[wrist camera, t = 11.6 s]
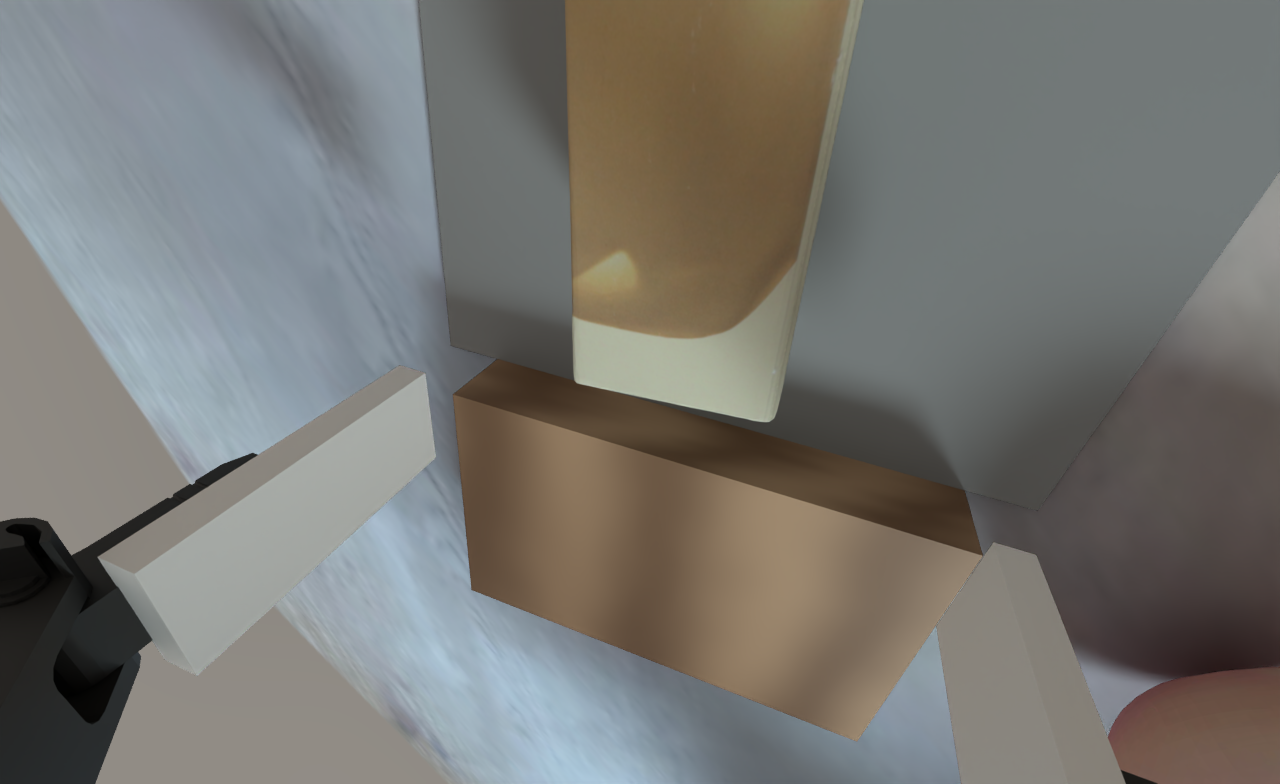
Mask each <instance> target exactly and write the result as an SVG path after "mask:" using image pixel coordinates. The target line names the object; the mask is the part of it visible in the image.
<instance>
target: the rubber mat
mask: <svg viewBox="0 0 1280 784" xmlns="http://www.w3.org/2000/svg"><path fill="white" fill-rule="evenodd" d="M419 9H420V20H421V31H422V42H423V52H424V63H425V74H426V85H427V95H428V106H429V117H430V128H431V138H432V149H433V160H434V171H435V182H436V192H437V203H438V214H439V225H440V235H441V246H442V257H443V268H444V278H445V289H446V300H447V311H448V321H449V332H450V343H451V346H453V347H457V348H461V349H464V350H468V351H471V352H475V353H478V354H482V355H485V356H489V357H493V358H496V359H500V360H503V361H507V362H510V363H514V364H517V365H521V366H524V367H528V368H532V369H535V370H539V371H542V372H546V373H549V374H553V375H556V376H560V377H564V378H567V379H571V380H574V373H573V339H572V277H571V223H570V188H569V147H568V109H567V72H566V22H565V0H419ZM1279 172H1280V0H864V3H863V8H862V13H861V17H860V22H859V27H858V32H857V36H856V41H855V46H854V51H853V55H852V60H851V65H850V70H849V74H848V79H847V84H846V89H845V94H844V98H843V103H842V108H841V113H840V117H839V122H838V127H837V132H836V137H835V141H834V146H833V151H832V156H831V160H830V165H829V170H828V175H827V180H826V185H825V189H824V194H823V199H822V204H821V209H820V214H819V218H818V223H817V228H816V233H815V238H814V242H813V247H812V251H811V256H810V261H809V265H808V270H807V274H806V279H805V283H804V288H803V293H802V298H801V302H800V307H799V312H798V317H797V322H796V326H795V331H794V336H793V340H792V345H791V350H790V355H789V360H788V364H787V370H786V375H785V380H784V384H783V389H782V393H781V397H780V401H779V405H778V409H777V412H776V415H775V418H774V419H773V420H771V421H770V422H759V421H752V420H749V419H745V418H739V417H734V416H729V415H725V414H720V413H716V412H711V411H706V410H701V409H696V408H690V407H685V406H681V405H676V404H672V403H667V402H662V401H657V400H653V399H648V398H643V397H639V396H634V395H629V394H624V393H620V392H617V393H620V394H624V395H627V396H631V397H635V398H638V399H642V400H645V401H649V402H652V403H656V404H659V405H663V406H667V407H670V408H674V409H677V410H681V411H684V412H688V413H691V414H695V415H698V416H702V417H706V418H709V419H713V420H716V421H720V422H723V423H727V424H730V425H734V426H738V427H741V428H745V429H748V430H752V431H755V432H759V433H762V434H766V435H769V436H773V437H777V438H780V439H784V440H787V441H791V442H794V443H798V444H801V445H805V446H809V447H812V448H816V449H819V450H823V451H826V452H830V453H833V454H837V455H841V456H844V457H848V458H851V459H855V460H858V461H862V462H865V463H869V464H872V465H876V466H880V467H883V468H887V469H890V470H894V471H897V472H901V473H904V474H908V475H912V476H915V477H919V478H922V479H926V480H929V481H933V482H936V483H940V484H943V485H947V486H951V487H954V488H958V489H961V490H965V491H968V492H972V493H975V494H979V495H983V496H986V497H990V498H993V499H997V500H1000V501H1004V502H1007V503H1011V504H1014V505H1018V506H1022V507H1025V508H1029V509H1032V510H1036V511H1038V510H1039V509H1040V507H1041V506H1042V504H1043V503H1044V502H1045V500H1046V499H1047V497H1048V496H1049V495H1050V493H1051V492H1052V490H1053V489H1054V488H1055V486H1056V485H1057V483H1058V482H1059V480H1060V479H1061V478H1062V476H1063V475H1064V473H1065V472H1066V471H1067V469H1068V468H1069V466H1070V465H1071V464H1072V462H1073V461H1074V459H1075V458H1076V457H1077V455H1078V454H1079V452H1080V451H1081V450H1082V448H1083V447H1084V445H1085V444H1086V443H1087V441H1088V440H1089V438H1090V437H1091V436H1092V434H1093V433H1094V431H1095V430H1096V429H1097V427H1098V426H1099V424H1100V423H1101V422H1102V420H1103V419H1104V417H1105V416H1106V415H1107V413H1108V412H1109V410H1110V409H1111V407H1112V406H1113V405H1114V403H1115V402H1116V400H1117V399H1118V398H1119V396H1120V395H1121V393H1122V392H1123V391H1124V389H1125V388H1126V386H1127V385H1128V384H1129V382H1130V381H1131V379H1132V378H1133V377H1134V375H1135V374H1136V372H1137V371H1138V370H1139V368H1140V367H1141V365H1142V364H1143V363H1144V361H1145V360H1146V358H1147V357H1148V356H1149V354H1150V353H1151V351H1152V350H1153V349H1154V347H1155V346H1156V344H1157V343H1158V342H1159V340H1160V339H1161V337H1162V336H1163V335H1164V333H1165V332H1166V330H1167V329H1168V327H1169V326H1170V325H1171V323H1172V322H1173V320H1174V319H1175V318H1176V316H1177V315H1178V313H1179V312H1180V311H1181V309H1182V308H1183V306H1184V305H1185V304H1186V302H1187V301H1188V299H1189V298H1190V297H1191V295H1192V294H1193V292H1194V291H1195V290H1196V288H1197V287H1198V285H1199V284H1200V283H1201V281H1202V280H1203V278H1204V277H1205V276H1206V274H1207V273H1208V271H1209V270H1210V269H1211V267H1212V266H1213V264H1214V263H1215V262H1216V260H1217V259H1218V257H1219V256H1220V255H1221V253H1222V252H1223V250H1224V249H1225V247H1226V246H1227V245H1228V243H1229V242H1230V240H1231V239H1232V238H1233V236H1234V235H1235V233H1236V232H1237V231H1238V229H1239V228H1240V226H1241V225H1242V224H1243V222H1244V221H1245V219H1246V218H1247V217H1248V215H1249V214H1250V212H1251V211H1252V210H1253V208H1254V207H1255V205H1256V204H1257V203H1258V201H1259V200H1260V198H1261V197H1262V196H1263V194H1264V193H1265V191H1266V190H1267V189H1268V187H1269V186H1270V184H1271V183H1272V182H1273V180H1274V179H1275V177H1276V176H1277V174H1278V173H1279ZM574 381H575V380H574ZM613 392H615V391H613Z"/></svg>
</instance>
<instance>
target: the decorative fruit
mask: <svg viewBox="0 0 1280 784" xmlns="http://www.w3.org/2000/svg"><path fill="white" fill-rule="evenodd" d="M1108 739H1109V742H1110V745H1111V747H1112V750H1113V752H1114V755H1115V757H1116V760H1117V762H1118V765H1119V768H1120V770H1123V771H1125V772H1128V773H1131V774H1134V775H1136V776H1139V777H1142V778H1144V779H1147V780H1150V781H1153V782H1155V783H1158V784H1280V667H1263V668H1252V669H1240V670H1228V671H1219V672H1213V673H1207V674H1201V675H1196V676H1189V677H1183V678H1178V679H1175V680H1171V681H1168V682H1164V683H1161V684H1159V685H1157V686H1155V687H1153V688H1151V689H1149V690H1147V691H1146V692H1144V693H1143V694H1141V695H1139V696H1138V697H1136V698H1135V699H1134V700H1133V701H1132V702H1131V703H1130V704H1128V705H1127V706H1126V707H1125V708H1124V709H1123V710H1122V711H1121V713H1120V714H1119V716H1118V717H1117V719H1116V720H1115V722H1114V724H1113V726H1112V728H1111V730H1110V733H1109V735H1108Z"/></svg>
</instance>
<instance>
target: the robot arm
mask: <svg viewBox="0 0 1280 784" xmlns="http://www.w3.org/2000/svg"><path fill="white" fill-rule="evenodd" d="M435 458H436V453H435V445H434V438H433V430H432V422H431V414H430V406H429V398H428V390H427V382H426V374H425V373H424V372H421V371H417V370H414V369H411V368H407V367H404V366H401V365H399V366H398V367H396V368H394V369H393V370H391V371H390V372H388V373H387V374H385V375H383V376H382V377H380V378H379V379H377V380H376V381H374V382H372V383H371V384H369V385H368V386H366V387H365V388H363V389H361V390H360V391H358V392H357V393H355V394H353V395H352V396H350V397H349V398H347V399H346V400H344V401H342V402H341V403H339V404H338V405H336V406H335V407H333V408H331V409H330V410H328V411H327V412H325V413H324V414H322V415H320V416H319V417H317V418H316V419H314V420H313V421H311V422H309V423H308V424H306V425H305V426H303V427H301V428H300V429H298V430H297V431H295V432H294V433H292V434H290V435H289V436H287V437H286V438H284V439H283V440H281V441H279V442H278V443H276V444H275V445H273V446H272V447H270V448H268V449H267V450H265V451H264V452H262V453H261V454H259V455H257V454H254V453H251V454H248V455H246V456H243V457H240V458H238V459H235V460H232V461H230V462H227V463H224V464H222V465H220V466H219V467H217V468H215V469H214V470H212V471H210V472H209V473H207V474H205V475H204V476H202V477H201V478H199V479H197V480H196V481H195V483H194V484H193V485H191V484H189V485H188V486H186V487H185V488H183V489H181V490H180V491H178V492H176V493H175V494H173V497H172V498H166V499H165V500H163V501H161V502H160V503H158V504H157V505H155V506H153V507H152V508H150V509H149V510H147V511H145V512H143V513H142V514H140V515H139V516H137V517H135V518H134V519H132V520H130V521H129V522H128V523H126V524H124V525H122V526H121V527H119V528H117V529H116V530H114V531H113V532H111V533H109V534H108V535H106V536H104V537H103V538H101V539H100V540H98V541H96V542H95V543H93V544H91V545H90V546H88V547H86V548H85V549H83V550H81V551H79V552H77V553H75V554H73V555H72V556H71V554H70V553H69V552H68V550H67V549H66V547H65V546H64V544H63V543H62V542H61V540H60V539H59V537H58V536H57V534H56V533H55V532H54V530H53V529H52V527H51V526H50V524H49V523H48V522H47V521H44V520H40V519H37V518H16V519H10V520H6V521H2V522H0V784H95V783H96V780H97V777H98V775H99V772H100V770H101V767H102V764H103V762H104V759H105V756H106V754H107V751H108V748H109V746H110V743H111V741H112V738H113V735H114V733H115V730H116V728H117V725H118V723H119V720H120V717H121V715H122V712H123V709H124V707H125V704H126V702H127V699H128V696H129V694H130V691H131V689H132V686H133V684H134V681H135V678H136V676H137V673H138V671H139V668H140V660H141V656H140V654H139V653H138V651H139V650H141V649H142V648H143V647H144V646H145V645H147V644H148V643H149V642H151V641H153V643H154V644H155V646H156V647H157V649H158V650H159V652H160V653H161V655H162V656H163V658H164V660H166V661H168V662H170V663H172V664H174V665H176V666H178V667H180V668H182V669H184V670H186V671H188V672H190V673H192V674H194V675H196V676H198V675H199V674H200V673H201V672H202V671H203V670H204V669H205V668H206V667H207V666H208V665H209V664H211V663H212V662H213V661H214V660H215V659H216V658H217V657H218V656H219V655H220V654H222V653H223V652H224V651H225V650H226V649H227V648H228V647H229V646H230V645H231V644H233V643H234V642H235V641H236V640H237V639H238V638H239V637H240V636H241V635H242V634H244V632H246V631H247V630H248V629H249V628H250V627H251V626H252V625H253V624H254V623H256V622H257V621H258V620H259V619H260V618H261V617H262V616H263V615H264V614H265V613H267V612H268V611H269V610H270V609H271V608H272V607H273V606H274V605H275V604H276V603H277V602H279V601H280V600H281V599H282V598H283V597H284V596H285V595H286V594H287V593H288V592H289V591H291V590H292V589H293V588H294V587H295V586H296V585H297V584H298V583H299V582H300V581H302V580H303V579H304V578H305V577H306V576H307V575H308V574H309V573H310V572H311V571H312V570H314V569H315V568H316V567H317V566H318V565H319V564H320V563H321V562H322V561H323V560H325V559H326V558H327V557H328V556H329V555H330V554H331V553H332V552H333V551H334V550H335V549H337V548H338V547H339V546H340V545H341V544H342V543H343V542H344V541H345V540H346V539H347V538H349V537H350V536H351V535H352V534H353V533H354V532H355V531H356V530H357V529H358V528H360V527H361V526H362V525H363V524H364V523H365V522H366V521H367V520H368V519H369V518H370V517H372V516H373V515H374V514H375V513H376V512H377V511H378V510H379V509H380V508H381V507H383V506H384V505H385V504H386V503H387V502H388V501H389V500H390V499H391V498H392V497H393V496H395V495H396V494H397V493H398V492H399V491H400V490H401V489H402V488H403V487H404V486H406V485H407V484H408V483H409V482H410V481H411V480H412V479H413V478H414V477H415V476H416V475H418V474H419V473H420V472H421V471H422V470H423V469H424V468H425V467H426V466H427V465H428V464H430V463H431V462H432V461H433V460H434V459H435ZM936 628H937V634H938V641H939V647H940V653H941V660H942V666H943V672H944V679H945V685H946V691H947V698H948V704H949V710H950V717H951V723H952V729H953V736H954V742H955V749H956V755H957V761H958V768H959V774H960V780H961V784H1158V783H1155V782H1153V781H1150V780H1147V779H1144V778H1142V777H1139V776H1136V775H1134V774H1131V773H1128V772H1125V771H1123V770H1120V768H1119V765H1118V762H1117V760H1116V757H1115V755H1114V752H1113V750H1112V747H1111V745H1110V742H1109V739H1108V737H1107V734H1106V732H1105V729H1104V727H1103V724H1102V722H1101V719H1100V716H1099V714H1098V711H1097V709H1096V706H1095V704H1094V701H1093V699H1092V696H1091V693H1090V691H1089V688H1088V686H1087V683H1086V681H1085V678H1084V676H1083V673H1082V670H1081V668H1080V665H1079V663H1078V660H1077V658H1076V655H1075V653H1074V650H1073V647H1072V645H1071V642H1070V640H1069V637H1068V635H1067V632H1066V630H1065V627H1064V625H1063V622H1062V619H1061V617H1060V614H1059V612H1058V609H1057V607H1056V604H1055V602H1054V599H1053V596H1052V594H1051V591H1050V589H1049V586H1048V584H1047V581H1046V579H1045V576H1044V573H1043V571H1042V568H1041V566H1040V563H1039V561H1038V558H1037V556H1036V555H1035V554H1031V553H1028V552H1025V551H1021V550H1018V549H1015V548H1011V547H1008V546H1004V545H1001V544H998V543H994V542H993V544H992V545H991V546H990V548H989V549H988V551H987V552H986V554H985V555H984V557H983V558H982V560H981V561H980V563H979V564H978V566H977V567H976V569H975V570H974V571H973V573H972V574H971V576H970V577H969V579H968V580H967V582H966V583H965V585H964V586H963V588H962V589H961V591H960V592H959V594H958V595H957V596H956V598H955V599H954V601H953V602H952V604H951V605H950V607H949V608H948V610H947V611H946V613H945V614H944V616H943V617H942V619H941V620H940V621H939V623H938V624H937V626H936Z"/></svg>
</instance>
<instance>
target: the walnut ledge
mask: <svg viewBox="0 0 1280 784" xmlns="http://www.w3.org/2000/svg"><path fill="white" fill-rule="evenodd" d="M453 401H454V411H455V422H456V432H457V443H458V453H459V464H460V474H461V484H462V495H463V505H464V516H465V526H466V537H467V547H468V558H469V568H470V578H471V589H472V590H473V591H476V592H478V593H481V594H483V595H486V596H489V597H491V598H494V599H496V600H499V601H501V602H504V603H506V604H509V605H511V606H514V607H516V608H519V609H522V610H524V611H527V612H529V613H532V614H534V615H537V616H539V617H542V618H544V619H547V620H550V621H552V622H555V623H557V624H560V625H562V626H565V627H567V628H570V629H572V630H575V631H577V632H580V633H583V634H585V635H588V636H590V637H593V638H595V639H598V640H600V641H603V642H605V643H608V644H610V645H613V646H616V647H618V648H621V649H623V650H626V651H628V652H631V653H633V654H636V655H638V656H641V657H643V658H646V659H649V660H651V661H654V662H656V663H659V664H661V665H664V666H666V667H669V668H671V669H674V670H676V671H679V672H682V673H684V674H687V675H689V676H692V677H694V678H697V679H699V680H702V681H704V682H707V683H709V684H712V685H715V686H717V687H720V688H722V689H725V690H727V691H730V692H732V693H735V694H737V695H740V696H743V697H745V698H748V699H750V700H753V701H755V702H758V703H760V704H763V705H765V706H768V707H770V708H773V709H776V710H778V711H781V712H783V713H786V714H788V715H791V716H793V717H796V718H798V719H801V720H803V721H806V722H809V723H811V724H814V725H816V726H819V727H821V728H824V729H826V730H829V731H831V732H834V733H836V734H839V735H842V736H844V737H847V738H849V739H852V740H854V741H858V739H859V738H860V736H861V735H862V734H863V732H864V731H865V729H866V728H867V726H868V725H869V723H870V722H871V720H872V719H873V717H874V716H875V714H876V713H877V711H878V710H879V708H880V707H881V705H882V704H883V703H884V701H885V700H886V698H887V697H888V695H889V694H890V692H891V691H892V689H893V688H894V686H895V685H896V683H897V682H898V680H899V679H900V677H901V676H902V675H903V673H904V672H905V670H906V669H907V667H908V666H909V664H910V663H911V661H912V660H913V658H914V657H915V655H916V654H917V652H918V651H919V649H920V648H921V647H922V645H923V644H924V642H925V641H926V639H927V638H928V636H929V635H930V633H931V632H932V630H933V629H934V627H935V626H936V624H937V623H938V621H939V620H940V618H941V617H942V616H943V614H944V613H945V611H946V610H947V608H948V607H949V605H950V604H951V602H952V601H953V599H954V598H955V596H956V595H957V593H958V592H959V590H960V589H961V588H962V586H963V585H964V583H965V582H966V580H967V579H968V577H969V576H970V574H971V573H972V571H973V570H974V568H975V567H976V565H977V564H978V562H979V561H980V559H981V558H982V557H983V554H982V551H981V547H980V544H979V540H978V536H977V533H976V529H975V526H974V522H973V518H972V515H971V511H970V508H969V504H968V501H967V497H966V493H965V490H961V489H958V488H954V487H951V486H947V485H943V484H940V483H936V482H933V481H929V480H926V479H922V478H919V477H915V476H912V475H908V474H904V473H901V472H897V471H894V470H890V469H887V468H883V467H880V466H876V465H872V464H869V463H865V462H862V461H858V460H855V459H851V458H848V457H844V456H841V455H837V454H833V453H830V452H826V451H823V450H819V449H816V448H812V447H809V446H805V445H801V444H798V443H794V442H791V441H787V440H784V439H780V438H777V437H773V436H769V435H766V434H762V433H759V432H755V431H752V430H748V429H745V428H741V427H738V426H734V425H730V424H727V423H723V422H720V421H716V420H713V419H709V418H706V417H702V416H698V415H695V414H691V413H688V412H684V411H681V410H677V409H674V408H670V407H667V406H663V405H659V404H656V403H652V402H649V401H645V400H642V399H638V398H635V397H631V396H627V395H624V394H620V393H617V392H613V391H610V390H605V389H601V388H596V387H592V386H587V385H583V384H578V383H576V381H574V380H571V379H567V378H564V377H560V376H556V375H553V374H549V373H546V372H542V371H539V370H535V369H532V368H528V367H524V366H521V365H517V364H514V363H510V362H507V361H503V360H500V359H497V360H496V361H494V362H493V363H492V364H491V365H489V366H488V367H487V368H486V369H484V370H483V371H482V372H481V373H479V374H478V375H477V376H476V377H474V378H473V379H472V380H471V381H469V382H468V383H467V384H465V385H464V386H463V387H462V388H460V389H459V390H458V391H457V392H455V393H454V394H453Z"/></svg>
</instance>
